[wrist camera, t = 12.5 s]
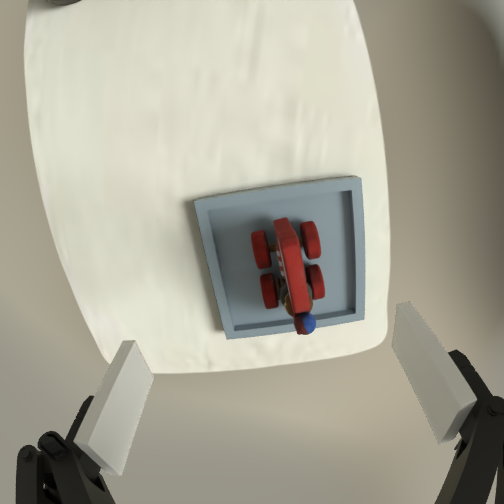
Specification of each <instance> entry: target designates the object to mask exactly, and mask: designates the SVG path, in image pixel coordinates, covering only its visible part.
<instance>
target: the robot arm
mask: <svg viewBox="0 0 504 504" xmlns="http://www.w3.org/2000/svg"><path fill="white" fill-rule="evenodd" d="M47 1H49V2H51V3H53V4H56V5H67V4H71V3H74V2H77V1H80V0H47ZM392 348H393V350H394V352H395V354H396V355H397V357H398V359H399V361H400V363H401V365H402V367H403V369H404V371H405V373H406V375H407V377H408V379H409V381H410V383H411V385H412V387H413V389H414V392H415V394H416V395H417V398H418V400H419V402H420V404H421V406H422V408H423V411H424V413H425V415H426V417H427V419H428V422H429V424H430V426H431V428H432V431H433V433H434V435H435V438H436V440H437V442H438V445H441V444H443V443H446V442H448V441H450V440H452V439H454V438H455V437H456V435H457V433H458V432H459V433H460V435H461V437H462V438H461V439H460V441H459V442H458V444H457V445H456V447H455V449H454V450H456V449H457V451H456V454H455V456H454V459H453V462H452V464H451V467H450V470H449V472H448V475H447V477H446V479H445V482H444V484H443V486H442V489H441V491H440V493H439V496H438V498H437V500H436V502H435V504H486V502H487V499H488V496H489V493H490V490H491V487H492V484H493V481H494V477H495V474H496V471H497V467H498V472H497V487H496V496H495V504H504V399H503V398H501V397H499V396H493V395H492V394H491V393H490V391H489V390H488V388H487V386H486V385H485V383H484V382H483V380H482V379H481V377H480V376H479V374H478V373H477V372H476V371H475V369H474V367H473V366H472V365H471V363H470V361H469V360H468V359H467V357H466V356H465V355H464V354H462V353H461V352H459V351H458V350H454V351H451V352H448V353H447V351H446V350H445V348H444V347H443V346H442V344H441V343H440V341H439V340H438V338H437V337H436V335H435V334H434V333H433V331H432V330H431V328H430V327H429V326H428V325H427V323H426V322H425V320H424V319H423V318H422V316H421V315H420V314H419V312H418V311H417V310H416V308H415V307H414V306H413V304H412V303H411V302H410V301H408V302H404V303H400V304H397V305H396V315H395V324H394V333H393V340H392ZM153 378H154V376H153V374H152V373H151V371H150V369H149V367H148V365H147V363H146V361H145V359H144V357H143V355H142V353H141V351H140V349H139V347H138V345H137V343H136V341H135V340H130V341H123V342H122V344H121V346H120V348H119V349H118V351H117V353H116V355H115V357H114V359H113V361H112V363H111V365H110V366H109V368H108V371H107V372H106V374H105V376H104V378H103V380H102V382H101V384H100V386H99V388H98V390H97V392H96V394H95V396H89V397H88V398H87V399H86V400H85V401H84V402H83V404H82V406H81V408H80V410H79V412H78V414H77V416H76V419H75V420H74V422H73V424H72V426H71V428H70V430H69V433H68V435H67V437H66V439H65V440H64V439H63V438H62V437H61V436H60V435H59V434H58V433H57V432H54V431H49V432H46V433H45V434H43V435H42V436H41V437H40V439H39V441H38V448H39V449H40V450H41V451H38V450H37V449H36V448H35V447H34V446H32V445H26V446H24V447H23V448H21V449H20V451H19V453H18V456H17V470H16V504H115V502H114V500H113V498H112V496H111V494H110V492H109V490H108V488H107V485H106V484H105V481H104V479H103V477H102V475H101V474H100V473H99V472H100V469H101V468H102V469H103V470H104V471H105V472H106V473H107V474H112V475H117V476H122V473H123V469H124V466H125V463H126V460H127V457H128V453H129V450H130V447H131V444H132V440H133V438H134V434H135V431H136V428H137V425H138V422H139V419H140V416H141V413H142V410H143V407H144V404H145V401H146V398H147V396H148V393H149V390H150V387H151V384H152V381H153ZM44 484H45V488H44V487H43V485H44Z"/></svg>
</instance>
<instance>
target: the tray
mask: <svg viewBox="0 0 504 504" xmlns="http://www.w3.org/2000/svg"><path fill="white" fill-rule="evenodd" d="M194 204H195V209H196V214H197V218H198V223H199V228H200V232H201V237H202V241H203V245H204V250H205V254H206V259H207V263H208V267H209V271H210V275H211V280H212V284H213V288H214V292H215V296H216V300H217V304H218V308H219V312H220V316H221V320H222V324H223V327H224V331H225V335H226V339H237V338H246V337H255V336H263V335H271V334H279V333H286V332H293V331H296V329H295V326H294V321H293V317H292V316H290V315H289V314H288V313H287V312H286V310H285V307H284V305H283V304H282V303H281V300H278V301H279V306H278V307H277V308H273V309H266V307H265V304H264V300H263V296H262V291H261V285H260V276H261V275H262V274H267V273H272V274H273V275H274V278H275V279H276V278H281V277H283V276H282V274H281V270H280V265H279V261H278V256H277V251H276V252H271V253H270V255H271V260H272V266H271V267H270V268H266V269H258V267H257V265H256V261H255V258H254V253H253V248H252V243H251V233H252V232H255V231H260V230H264V231H265V233H266V237H267V241H268V244H269V243H276V242H277V239H276V235H275V229H274V225H273V221H274V220H276V219H280V218H284V217H287V218H288V220H289V222H290V224H291V226H292V228H293V230H295V232H296V234H297V237H298V238H299V237H301V234H300V224H301V223H302V222H307V221H313V222H314V223H315V225H316V228H317V231H318V235H319V239H320V245H321V256H320V257H319V258H317V259H312V260H309V259H307V257H306V255H305V252H304V248H303V246H302V247H300V248H301V254H302V260H303V265H304V272H305V277H306V267H307V266H309V265H313V264H318V265H319V266H320V269H321V272H322V275H323V280H324V286H325V297H324V298H322V299H318V300H313V299H312V300H313V307H312V310H311V312H310V313H311V314H312V315H313V316H314V317H315V320H316V327H315V328H320V327H326V326H332V325H337V324H343V323H348V322H354V321H359V320H364V315H365V231H364V210H363V195H362V182H361V178H360V177H357V176H348V177H338V178H329V179H321V180H312V181H304V182H297V183H289V184H282V185H275V186H268V187H261V188H255V189H248V190H242V191H236V192H230V193H224V194H218V195H212V196H207V197H201V198H197V199H196V200H195V201H194ZM283 279H285V278H284V277H283ZM306 279H307V277H306Z"/></svg>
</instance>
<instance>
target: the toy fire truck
mask: <svg viewBox="0 0 504 504" xmlns="http://www.w3.org/2000/svg"><path fill="white" fill-rule="evenodd" d="M273 225H274V229H275V235H276V239H277V242H276V243H269V244H268V241H267V237H266V233H265V231H264V230H260V231H255V232H252V233H251V243H252V248H253V253H254V258H255V261H256V265H257V267H258V269H266V268H270V267H271V266H272V260H271V255H270V253H271V252H276V251H277V256H278V261H279V265H280V270H281V274H282V276H283V277H284V278H285V279H283V277H281V278H276V279H275V278H274V275H273V274H272V273H267V274H262V275H261V276H260V285H261V291H262V296H263V300H264V304H265V307H266V309H273V308H277V307H278V306H279V301H278V300H281V303H282V304H283V305H284V307H285V310H286V312H287V313H288V314H289V315H290V316H292V317H293V321H294V326H295V329H296V331H297V334H303V335H307V334H310V333H312V332H313V331H314V329H315V327H316V320H315V317H314V316H313V315H312V314H311V313H310V312H311V310H312V307H313V300H318V299H322V298H324V297H325V286H324V280H323V275H322V272H321V269H320V266H319V265H318V264H313V265H309V266H307V267H306V277H307V279H306V277H305V272H304V265H303V260H302V254H301V248H300V247H302V246H303V248H304V252H305V255H306V257H307V259H309V260H312V259H317V258H319V257H320V256H321V245H320V239H319V235H318V231H317V228H316V225H315V223H314V222H313V221H307V222H302V223H301V224H300V234H301V237H299V238H298V237H297V234H296V232H295V230H293V228H292V226H291V224H290V222H289V220H288V218H287V217H284V218H280V219H276V220H274V221H273ZM312 299H313V300H312Z"/></svg>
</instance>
